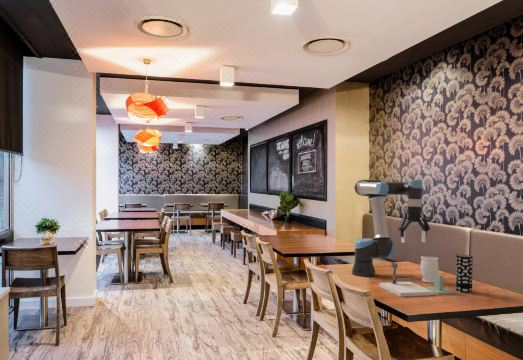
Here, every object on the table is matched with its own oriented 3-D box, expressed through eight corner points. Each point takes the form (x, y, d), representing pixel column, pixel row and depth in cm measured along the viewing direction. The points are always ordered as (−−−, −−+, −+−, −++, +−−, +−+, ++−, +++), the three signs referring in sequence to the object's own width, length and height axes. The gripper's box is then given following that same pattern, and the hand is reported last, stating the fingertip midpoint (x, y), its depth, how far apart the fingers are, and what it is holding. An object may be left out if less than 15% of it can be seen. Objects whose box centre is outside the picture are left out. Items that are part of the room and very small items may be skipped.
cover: (424, 289, 238) (424, 273, 238) (439, 288, 240) (439, 272, 240) (437, 295, 226) (437, 277, 226) (453, 294, 228) (453, 277, 228)
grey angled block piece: (393, 283, 238) (393, 263, 239) (391, 281, 244) (391, 261, 245) (411, 284, 237) (411, 264, 237) (408, 282, 243) (409, 262, 243)
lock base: (379, 286, 242) (379, 282, 242) (409, 285, 247) (409, 281, 247) (400, 296, 220) (400, 292, 220) (433, 295, 224) (433, 290, 224)
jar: (439, 283, 251) (440, 259, 252) (421, 282, 253) (422, 258, 254) (436, 279, 262) (436, 256, 262) (418, 278, 264) (419, 255, 264)
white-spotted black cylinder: (465, 293, 229) (466, 257, 229) (452, 290, 236) (453, 255, 236) (475, 292, 232) (475, 256, 233) (462, 288, 240) (462, 254, 240)
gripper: (399, 206, 234) (398, 243, 235) (437, 206, 240) (436, 243, 241) (392, 205, 241) (390, 241, 242) (428, 205, 248) (427, 240, 248)
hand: (413, 242), depth 241 cm, fingers open, 13 cm apart
